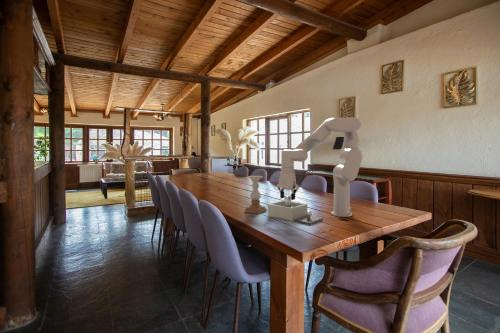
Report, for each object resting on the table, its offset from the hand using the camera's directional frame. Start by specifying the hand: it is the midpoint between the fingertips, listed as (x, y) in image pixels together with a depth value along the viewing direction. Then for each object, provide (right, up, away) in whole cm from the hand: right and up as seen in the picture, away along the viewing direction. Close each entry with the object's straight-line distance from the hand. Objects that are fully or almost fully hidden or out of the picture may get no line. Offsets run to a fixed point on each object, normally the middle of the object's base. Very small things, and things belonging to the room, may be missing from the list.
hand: (287, 198), depth 168 cm
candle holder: (-19, -11, +15) cm, 27 cm away
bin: (0, -11, +1) cm, 11 cm away
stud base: (+11, -12, -10) cm, 19 cm away
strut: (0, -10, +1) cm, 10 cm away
